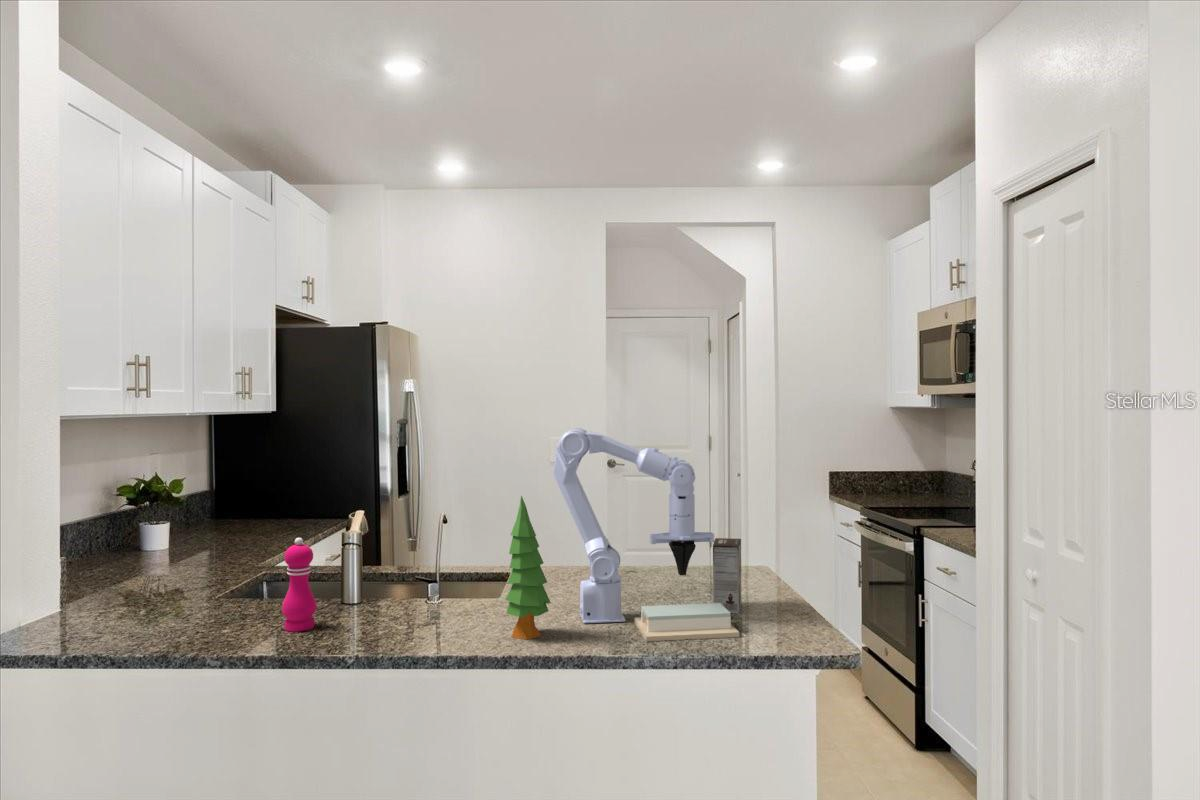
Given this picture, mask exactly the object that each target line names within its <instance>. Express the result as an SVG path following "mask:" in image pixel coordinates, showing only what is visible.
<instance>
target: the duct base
mask: <svg viewBox="0 0 1200 800" xmlns="http://www.w3.org/2000/svg"><path fill="white" fill-rule="evenodd" d="M640 611H641V613H640V616H639V617H634V620H633V621H634V624H635V625H636V627H637V629H638V628H639V629H638V631H639V632H640V633H641V635H642V637H643V639H644V640H645V641H646V642H664V641H665V640H666V641H684V640H686V639H688V640H704V639H705V640H706V639H708V640H709V639H726V638H728V639H729V638H740V631H739V630H738V629H737V628H736V627H734V625H732V623H731V617H715V618H692V619H669V620H648V619H647V618H646V616H645V615H644V613H643V612H642V610H640Z"/></svg>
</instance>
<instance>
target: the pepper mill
mask: <svg viewBox="0 0 1200 800" xmlns="http://www.w3.org/2000/svg"><path fill="white" fill-rule="evenodd" d="M303 543H304V539H303V538H302V537H296V538H295V539H294V544H293V545H290V546H289V547H288V548H287V549H286V551H285V553H284V562H285V564H286V565H287V568H286V574H287V575H288V577H289V586H288V589H287V592H286V594H285V597H284V599H283V602H282V606H281V613H282V615H283V616H284V617H285V618H286V619H285V620H284V623H283V624H284V626H283V627H284V630H285V631H287V632H293V633H294V632H297V633H298V632H305V631H309V630H311V629H314V627H315V625H316V624H315V620H316V619H315V617H313V615H314V614H315V613H316V612H317V609H318V607H317V601H316V598H315V596H314V593H313V592H312V590H311V587H310V582H309V581H310V580H309V578H310V573H311V572H312V570H311V568H312V566H311V563H312V562H313V559H314V552H313V549H312V548H311V547H310V546H309V545H307V544H303Z"/></svg>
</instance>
